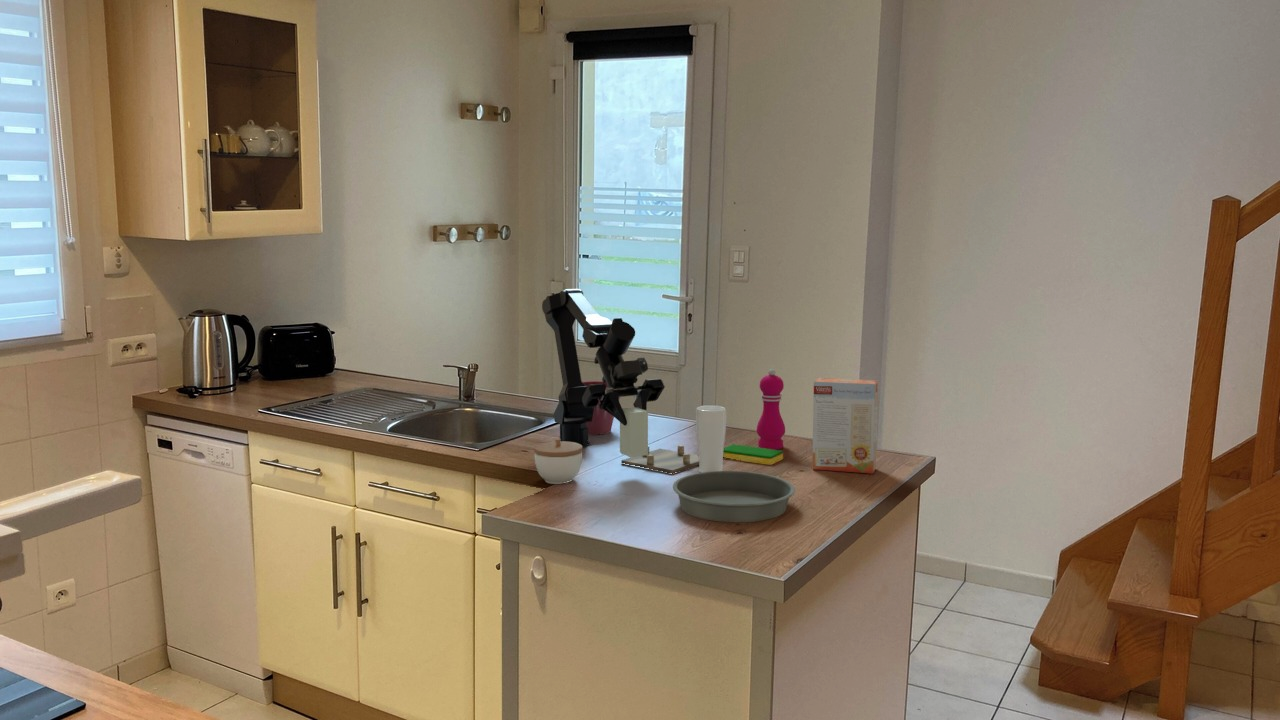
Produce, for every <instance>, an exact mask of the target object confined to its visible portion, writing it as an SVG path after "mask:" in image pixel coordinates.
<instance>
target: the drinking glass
mask: <svg viewBox="0 0 1280 720" xmlns="http://www.w3.org/2000/svg"><path fill="white" fill-rule="evenodd" d="M726 409H727V408H726V407H724V406H720V405H715V404H714V405H711V404H710V405H707V404H706V405H700V406H697V407H696V412H695V413H696V414H695V415H696V417H695V420H696V421H695V427H696V438H697V439H696V440H697V451H698V452H697V453H698V455H699V466H698V470H699V473H703V472H712V471H723V470H724V469H723V465H724V464H723V463H724V462H723V461H724V458H723V452H724V448H725V441H726V430H727V410H726Z"/></svg>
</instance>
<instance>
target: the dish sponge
mask: <svg viewBox="0 0 1280 720" xmlns="http://www.w3.org/2000/svg"><path fill="white" fill-rule="evenodd" d="M723 457H726V458H731V459H730V460H733V459H736V460H735V461H740V460H741V462H749V463H755V464H762V465H767V466H770V465H773V464H776V463H778V462H780V461H783V459H784V451H783V450H780V449H776V450H773V449H765V448H759V447H758V446H750V445H741V444H736V443H735V444H734V443H731V444H730V445H728V446H726V447H725V446H724V452H723ZM726 458H725V459H726Z"/></svg>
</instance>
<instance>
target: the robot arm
mask: <svg viewBox="0 0 1280 720" xmlns="http://www.w3.org/2000/svg"><path fill="white" fill-rule="evenodd" d="M541 304H542V305H541V308H542V309H541V310H542V312H543V314H544V317H545V321H546V323H547V324H548V325H549V327H550V328H551V329H552V330H553V331H554V338H555V344H556V350H557V355H558V361H559V369H560V374H561V381H562V387H561V390H560V392H559V394H558V403H557V406H556V408H555V410H554V412H553V419H554V422H555V423H557V424H559V439H560V441H566V442H574V443H578V444H580V445H582V447H583V448H584V447H586V446H588V445H591V442H590V441H589V435H588V428H587V422H592V418H593V411H594V407H596V406H597V405H598V403H599V401H598V399H599V400H600V402H601V404H600V406H599V408H600V409H604V410H605V411H607V412H608V413H610V414H611V415H612V416H614V418H615V419H616V420H617V421H618V422H619V423H620V422H621V423H622V424H623V425H624V426H625V425H627V420H626V417H625V414H624V412H623V410H622V409H623V407H622V405H621V403H620V399H619V397H620V398H624V397H625V398H626V397H633V398H634V402H633V408H635V407H638V408H641V409H644V410H646V411H648V410H647V404H648V402H656V401H657V400H658V399H659V398H660V396H661V394H662V392H663V391H664V389H665V388H666V385H665V384H664V381H663V380H662V378H647V379H644V381H643V383H642V385H639V386H638V385H635V384H636V383H637V382H638V381H639V379H638V377H639V376H640V375H643V373H646V372H647V371H648V370H649V367H648V366H649V365H648V362H647V360H646V358H645V357H638V358H637V359H634V360H625V359H624V357H623V355H625V354H626V353H628V350H629V348H630V346H631V344H632V342H633V340H634V338H635V336H636V330H635V328H634V326H632V325H631V324H630V323H628V322H626V321H623V318H622V317H615V318H613V319H612V321H611V320H610V319H609V318H607V317H603V316H600V315H599V314H598V312H597V311H596V309H595V308H594V307H593V306H592V305H591V303H590V302H589V301H588V299H586V297H585V296H584V292H583V290H582V289H579V288H567V289H566V288H565V289H563V290H561V291H560V292H558V293H555V294H551V295H546V298H545V299H543V301H542V303H541ZM575 322H578V324H579V325H580V327H581V328H582V329H583V330H582V338H583V340H584V343H585V345H586V346H587V347H588V348H590V349H591V348H592V349H593V348H597V351H596V353H595V357H594V364H595V365H596V364H597V365H598V364H599V367H600V370H601V373H602V375H603V377H602V378H601V381H603V383H605V382H606V383H607V386H608V387H606V385H605V384H603V383H600V384H589V385H588V386H585V385H584V383H583V382H584V381H582V377H581V369H580V364H579V357H578V351H577V344H576V339H575V333H574V323H575Z"/></svg>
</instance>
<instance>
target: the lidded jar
mask: <svg viewBox="0 0 1280 720" xmlns="http://www.w3.org/2000/svg"><path fill="white" fill-rule="evenodd" d="M583 448H584V447H582V445H580V444H578V443H574V442H566V441H560V438H556V439H555V441H547V442H542V443H541V442H540V443H538V444H536V445H534V447H533V453H534V463H535V468H536V470H537V473H538V475H539V476H540V477H541V478H542V479H543V480H544V482H545V483H547V484H550V485H562V484H561V483H564V482H567V481H570V480H572V479H574V478H576V477H577V475H578V474H579V472H580V470H581V468H582V463H583ZM572 481H573V480H572Z"/></svg>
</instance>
